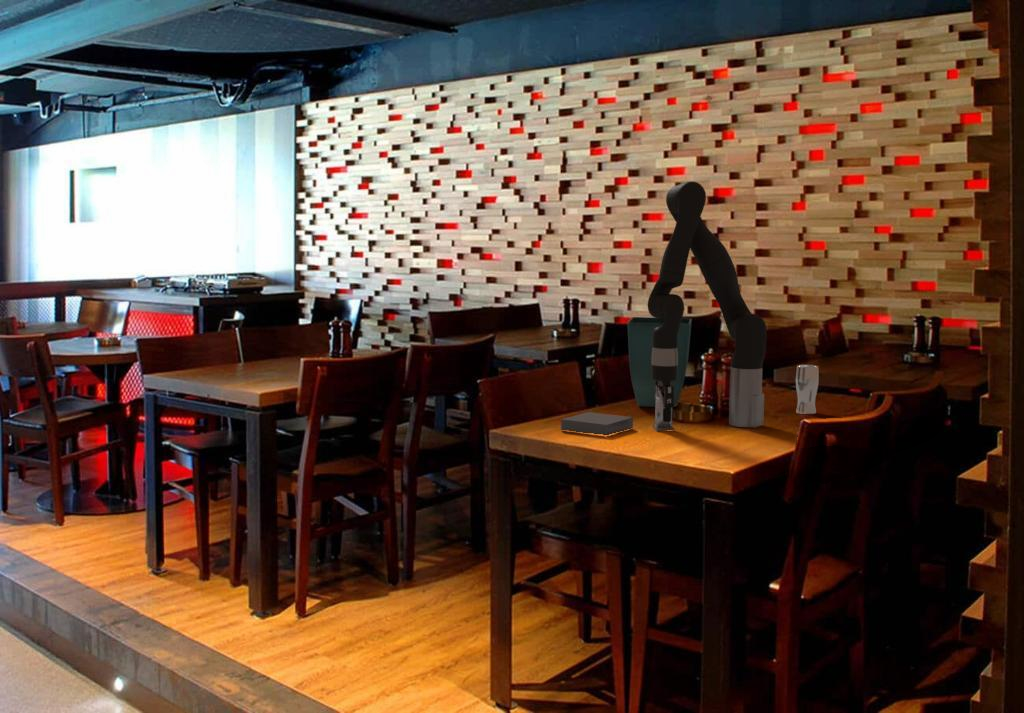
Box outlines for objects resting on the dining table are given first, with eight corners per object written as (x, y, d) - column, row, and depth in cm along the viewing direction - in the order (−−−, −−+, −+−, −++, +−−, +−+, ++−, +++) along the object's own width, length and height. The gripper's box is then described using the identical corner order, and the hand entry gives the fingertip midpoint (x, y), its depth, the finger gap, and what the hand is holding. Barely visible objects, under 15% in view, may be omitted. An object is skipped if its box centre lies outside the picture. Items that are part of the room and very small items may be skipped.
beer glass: (815, 411, 327) (816, 364, 326) (819, 414, 320) (821, 367, 319) (792, 410, 328) (794, 364, 326) (796, 414, 321) (798, 367, 319)
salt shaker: (673, 431, 292) (674, 393, 291) (656, 431, 292) (657, 393, 291) (669, 428, 297) (670, 390, 296) (652, 428, 297) (653, 391, 296)
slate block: (632, 430, 296) (633, 417, 295) (606, 439, 284) (606, 424, 283) (588, 425, 304) (588, 412, 304) (561, 433, 292) (561, 419, 292)
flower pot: (688, 410, 327) (690, 322, 324) (625, 408, 331) (627, 321, 328) (689, 401, 347) (691, 318, 343) (631, 399, 351) (632, 317, 347)
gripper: (683, 366, 286) (682, 423, 288) (671, 360, 300) (670, 414, 302) (657, 366, 285) (655, 423, 287) (646, 360, 299) (645, 415, 301)
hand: (663, 419), depth 294 cm, fingers open, 8 cm apart
